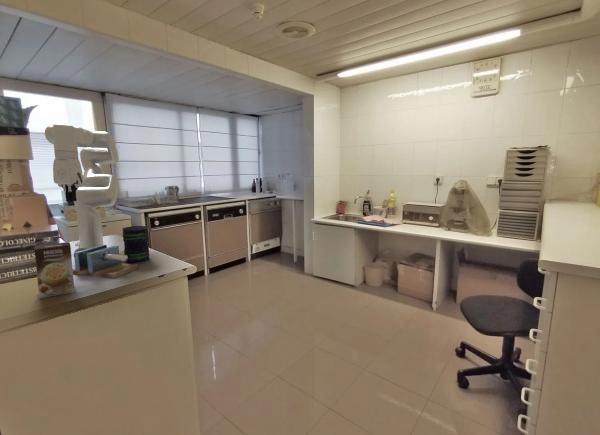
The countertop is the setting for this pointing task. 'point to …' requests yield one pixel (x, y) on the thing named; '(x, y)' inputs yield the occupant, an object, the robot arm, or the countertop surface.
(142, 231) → the storage jar
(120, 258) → the shaft
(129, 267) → the base plate
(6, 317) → the countertop surface
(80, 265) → the bearing blocks
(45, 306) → the countertop surface
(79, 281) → the countertop surface
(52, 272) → the coffee box
